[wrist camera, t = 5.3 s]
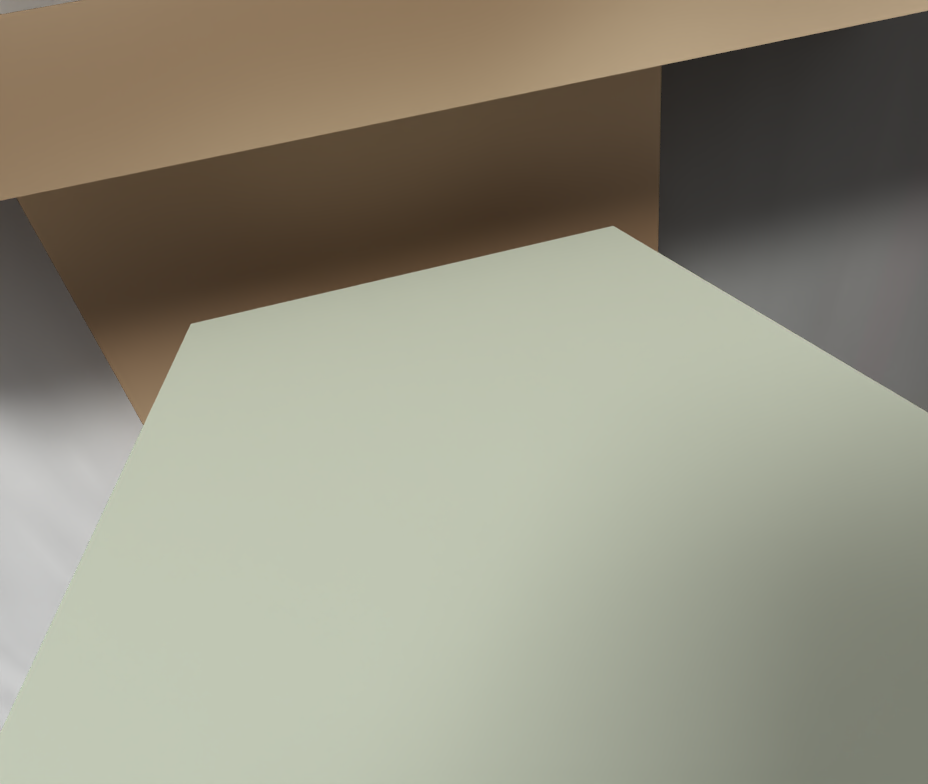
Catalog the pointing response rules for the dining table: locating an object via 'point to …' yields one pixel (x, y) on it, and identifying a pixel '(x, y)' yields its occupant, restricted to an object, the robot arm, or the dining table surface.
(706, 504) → the block
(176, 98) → the light brown t-shaped piece
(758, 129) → the dining table surface
